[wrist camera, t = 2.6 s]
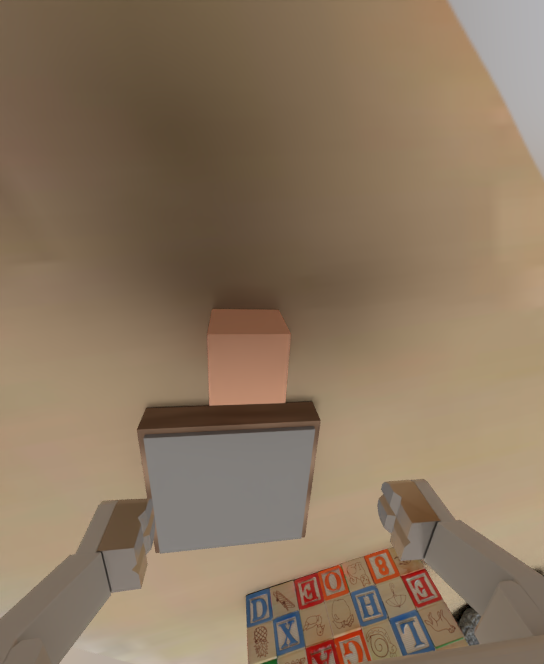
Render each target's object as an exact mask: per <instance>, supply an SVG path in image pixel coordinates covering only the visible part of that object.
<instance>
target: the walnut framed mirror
mask: <svg viewBox="0 0 544 664" xmlns="http://www.w3.org/2000/svg"><path fill="white" fill-rule="evenodd" d="M319 428H320V418H319V416H318V414H317V412H316V409H315V407H314V405H313V402H290V403H271V404H242V405H213V406H188V407H162V408H146V410H145V412H144V415H143V417H142V419H141V422H140V424H139V426H138V429H137V433H138V440H139V446H140V453H141V459H142V466H143V473H144V479H145V486H146V492H147V499H152V502H153V508H152V512H151V513H152V514H153V515H154V516H155V533H154V545H155V552H156V553H169V552H179V551H188V550H197V549H207V548H216V547H226V546H235V545H244V544H254V543H263V542H272V541H282V540H291V539H300V538H301V537H305V532H306V525H307V518H308V510H309V503H310V495H311V488H312V480H313V473H314V466H315V458H316V451H317V443H318V436H319Z"/></svg>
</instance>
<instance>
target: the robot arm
mask: <svg viewBox="0 0 544 664" xmlns="http://www.w3.org/2000/svg"><path fill="white" fill-rule="evenodd" d="M381 490H382V492H383V495H382V496H381V497H380V498H379V500H378V514H379V517H380V520H381V522H382V525H383V527H384V528H385V529H386V530H387V531H389V532H390V533H391V539H390V541H391V543H392V545H393V547H394V549H395V551H396V553H397V555H398V557H399V559H400V561H406V560H420V559H424V561H425V562H426V563H427V564H428V565H429V566H430V567H431V568H432V569H433V570H434V571H435V572H436V573H437V574H438V575H439V576H440V577H441V578H442V579H443V580H444V581H445V582H446V583H447V584H448V585H449V586H450V587H451V588H452V589H453V590H455V591H456V592H457V593H458V594H459V595H460V596H461V597H462V598H463V599H464V600H465V601H466V602H467V603H468V604H469V605H470V606H471V607H472V608H473V609H474V610H475V611H476V612H477V613H478V614H479V615H480V616H481V618H480V620H479V622H478V624H477V626H476V628H475V633H474V635H475V636H476V638H477V640H478V642H479V643H480V644H478V645H472V646H465V647H458V648H452V649H445V650H439V651H432V652H425V653H419V654H412V655H406V656H399V657H392V658H386V659H379V660H372V661H366V662H359V663H353V664H544V577H543V576H542V575H541V574H540V573H538V572H537V571H535V570H534V569H532V568H531V567H529V566H528V565H526V564H525V563H523V562H522V561H520V560H519V559H517V558H516V557H514V556H513V555H511V554H510V553H508V552H507V551H505V550H504V549H502V548H501V547H499V546H498V545H496V544H495V543H493V542H492V541H490V540H489V539H487V538H486V537H484V536H483V535H481V534H480V533H478V532H477V531H475V530H474V529H473V528H471V527H470V526H468V525H467V524H465V523H464V522H462V521H461V520H455V518H454V517H453V516H452V514H451V513H450V512H449V510H448V509H447V507H446V506H445V505H444V503H443V502H442V501H441V499H440V498H439V497H438V495H437V494H436V493H435V491H434V490H433V489H432V487H431V486H430V485H429V483H428V482H427V481H426V480H424V479H418V480H401V481H389V482H384V483H383V484H382V488H381ZM152 508H153V502H152V499H127V500H108V501H102V502H101V503H100V505H99V506H98V508H97V510H96V512H95V514H94V516H93V518H92V520H91V522H90V524H89V527H88V529H87V531H86V533H85V535H84V537H83V539H82V541H81V543H80V545H79V548H78V550H77V552H76V554H74V555H69V556H68V557H67V558H66V559H65V560H64V561H63V562H62V563H61V564H60V565H58V566H57V567H56V568H55V569H54V570H53V571H52V572H51V573H50V574H49V575H48V576H46V577H45V578H44V579H43V580H42V581H41V582H40V583H39V584H38V585H37V586H36V587H34V588H33V589H32V590H31V591H30V592H29V593H28V594H27V595H26V596H25V597H24V598H22V599H21V600H20V601H19V602H18V603H17V604H16V605H15V606H14V607H13V608H12V609H10V610H9V611H8V612H7V613H6V614H5V615H4V616H3V617H2V618H1V619H0V664H59V663H60V661H61V660H62V659H63V658H64V656H65V655H66V654H67V652H68V651H69V650H70V648H71V647H72V646H73V644H74V643H75V642H76V640H77V639H78V638H79V636H80V635H81V634H82V632H83V631H84V630H85V629H86V627H87V626H88V625H89V623H90V622H91V621H92V619H93V618H94V617H95V615H96V614H97V613H98V611H99V610H100V609H101V607H102V606H103V605H104V603H105V602H106V601H107V599H108V598H109V597H110V596H111V593H113V592H120V591H127V590H134V589H141V587H142V584H143V580H144V576H145V572H146V568H147V557H146V554H147V553H148V552H149V551H150V550H151V548H152V544H153V540H154V533H155V516H154V515H153V514H152V513H151V512H152Z"/></svg>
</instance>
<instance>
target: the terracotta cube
mask: <svg viewBox="0 0 544 664" xmlns="http://www.w3.org/2000/svg"><path fill="white" fill-rule="evenodd" d="M290 340H291V333H290V331H289V329H288V327H287V325H286V323H285V321H284V319H283V317H282V315H281V313H280V311H279V310H266V309H212V312H211V317H210V322H209V327H208V332H207V347H208V378H209V406H212V405H242V404H271V403H285V400H286V388H287V376H288V364H289V352H290Z"/></svg>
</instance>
